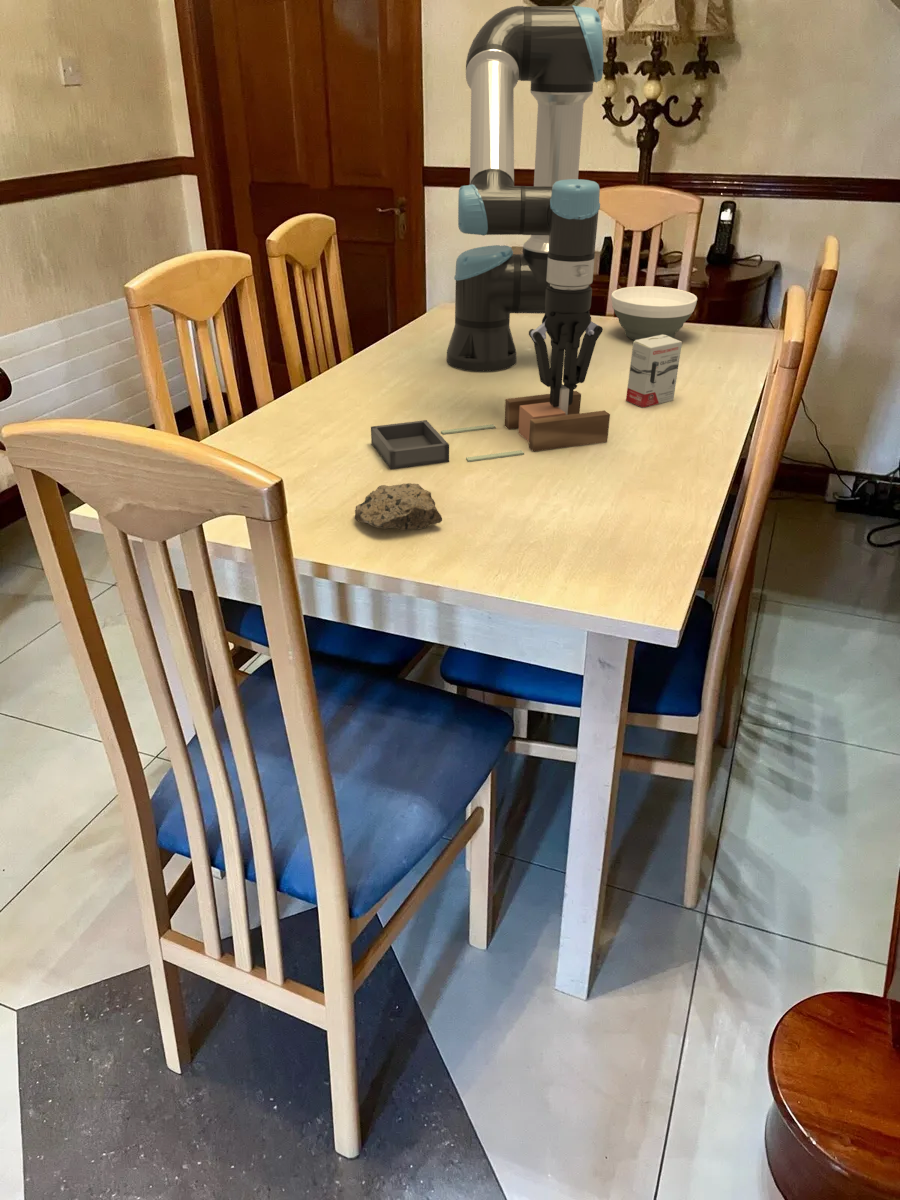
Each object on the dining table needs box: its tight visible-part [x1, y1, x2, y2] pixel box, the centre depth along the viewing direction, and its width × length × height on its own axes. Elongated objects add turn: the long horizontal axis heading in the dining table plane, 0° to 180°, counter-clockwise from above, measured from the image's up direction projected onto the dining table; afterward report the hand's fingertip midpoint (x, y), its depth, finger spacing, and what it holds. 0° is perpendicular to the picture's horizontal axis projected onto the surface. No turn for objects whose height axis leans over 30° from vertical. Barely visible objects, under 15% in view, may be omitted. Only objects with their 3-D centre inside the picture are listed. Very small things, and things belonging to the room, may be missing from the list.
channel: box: [503, 390, 611, 452], centre depth 159 cm, size 13×14×5 cm
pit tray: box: [370, 419, 450, 470], centre depth 152 cm, size 12×10×3 cm
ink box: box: [625, 334, 683, 409], centre depth 173 cm, size 8×5×12 cm, turn 123°
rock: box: [354, 482, 443, 531], centre depth 130 cm, size 11×12×4 cm
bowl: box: [610, 285, 698, 341], centre depth 212 cm, size 20×20×10 cm
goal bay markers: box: [440, 423, 525, 463], centre depth 157 cm, size 14×10×1 cm
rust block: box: [517, 402, 566, 443], centre depth 158 cm, size 6×6×5 cm
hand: (559, 422), depth 160 cm, fingers closed
